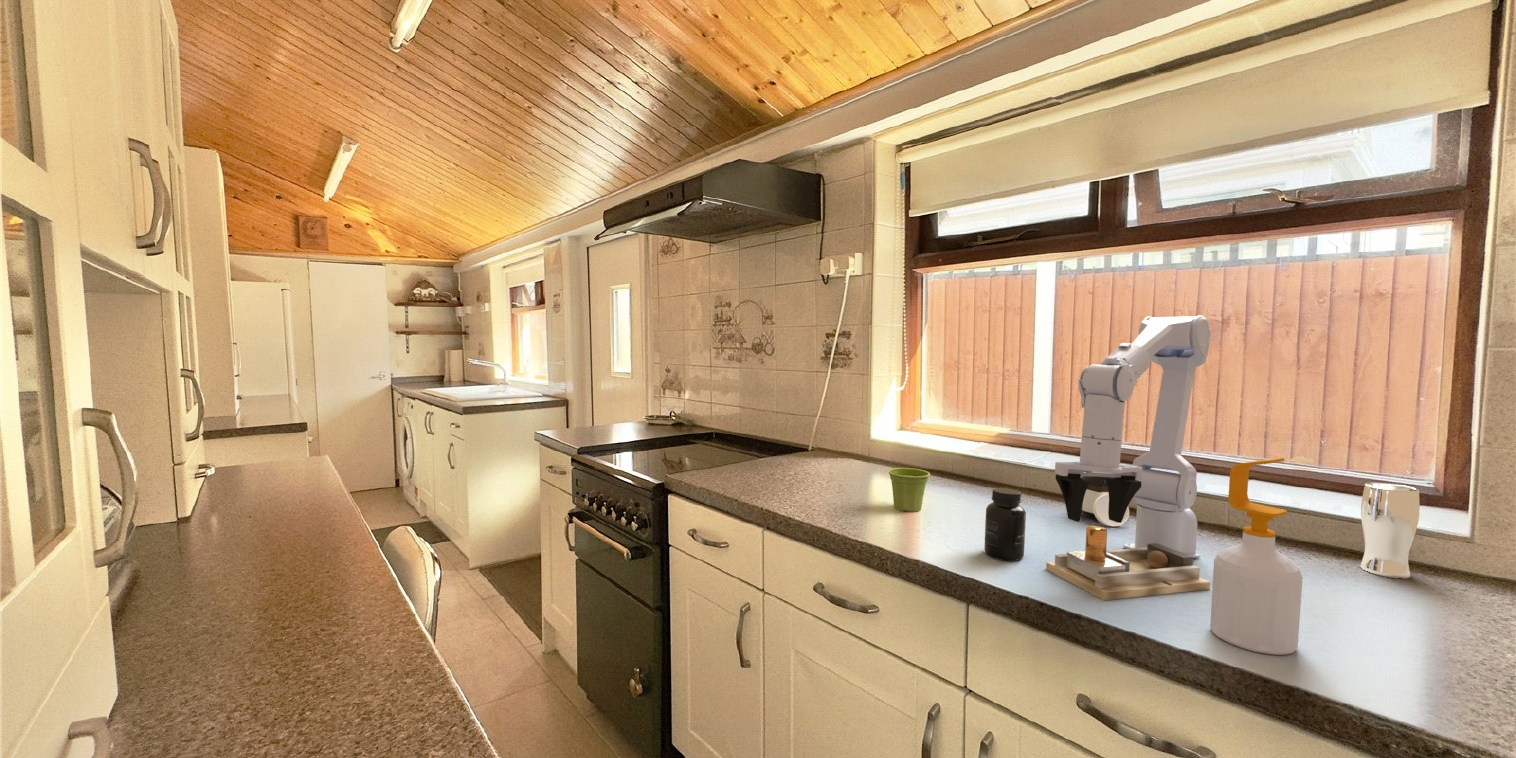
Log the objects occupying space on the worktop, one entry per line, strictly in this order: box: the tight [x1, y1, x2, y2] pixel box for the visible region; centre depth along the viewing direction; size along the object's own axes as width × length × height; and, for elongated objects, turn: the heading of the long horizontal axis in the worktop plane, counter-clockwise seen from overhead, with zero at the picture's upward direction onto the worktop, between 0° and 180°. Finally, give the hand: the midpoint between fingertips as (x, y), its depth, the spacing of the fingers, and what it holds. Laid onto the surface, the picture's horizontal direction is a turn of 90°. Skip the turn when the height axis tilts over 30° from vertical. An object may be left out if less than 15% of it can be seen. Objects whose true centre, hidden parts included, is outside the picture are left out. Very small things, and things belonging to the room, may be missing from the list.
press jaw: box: [1066, 525, 1130, 580], centre depth 101 cm, size 6×7×7 cm
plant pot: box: [887, 467, 931, 513], centre depth 143 cm, size 9×9×9 cm
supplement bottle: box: [983, 487, 1027, 562], centre depth 113 cm, size 7×7×12 cm
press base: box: [1045, 543, 1211, 601], centre depth 102 cm, size 20×13×4 cm, turn 103°
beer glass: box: [1359, 481, 1421, 580], centre depth 106 cm, size 7×7×15 cm
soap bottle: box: [1209, 457, 1303, 656], centre depth 81 cm, size 9×9×25 cm
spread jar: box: [1081, 471, 1130, 527], centre depth 135 cm, size 12×11×12 cm
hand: (1094, 520), depth 101 cm, fingers open, 7 cm apart
